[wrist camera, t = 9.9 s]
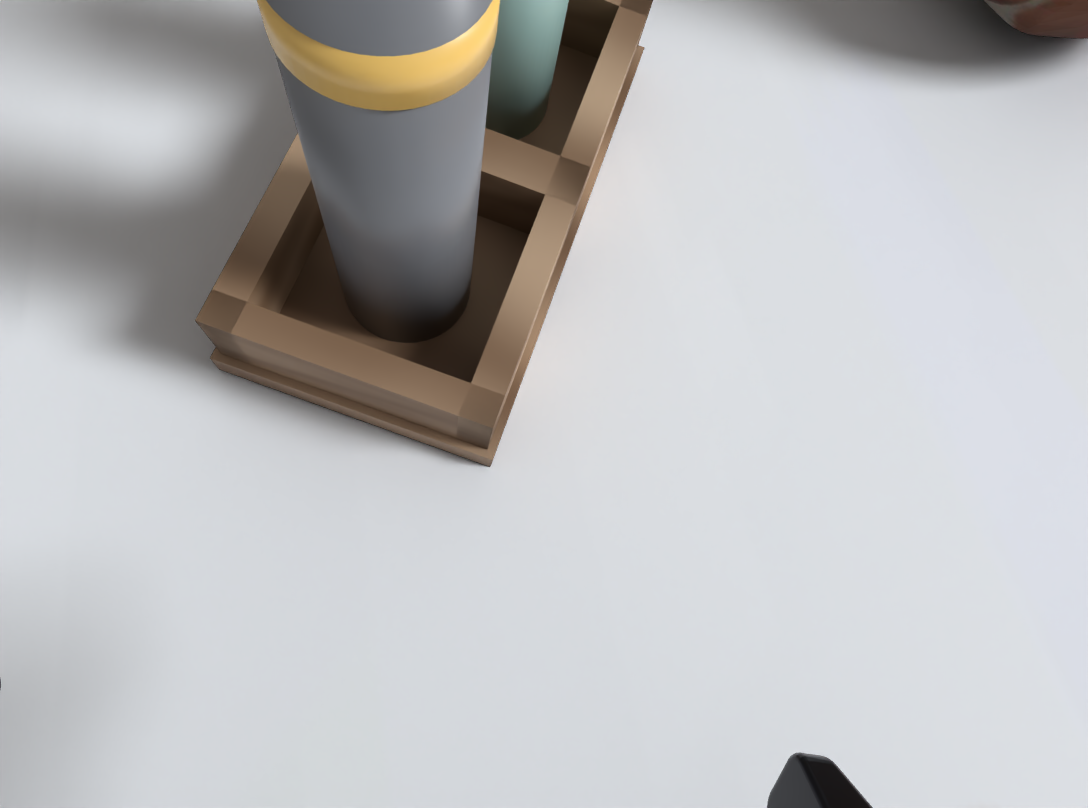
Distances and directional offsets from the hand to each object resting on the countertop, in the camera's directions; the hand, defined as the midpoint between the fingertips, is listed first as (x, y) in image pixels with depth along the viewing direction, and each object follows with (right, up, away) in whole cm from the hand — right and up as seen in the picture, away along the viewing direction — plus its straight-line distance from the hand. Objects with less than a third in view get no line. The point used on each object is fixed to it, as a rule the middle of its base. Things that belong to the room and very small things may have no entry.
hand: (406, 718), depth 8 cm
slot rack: (-2, +11, +17) cm, 20 cm away
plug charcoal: (-3, +7, +15) cm, 17 cm away
